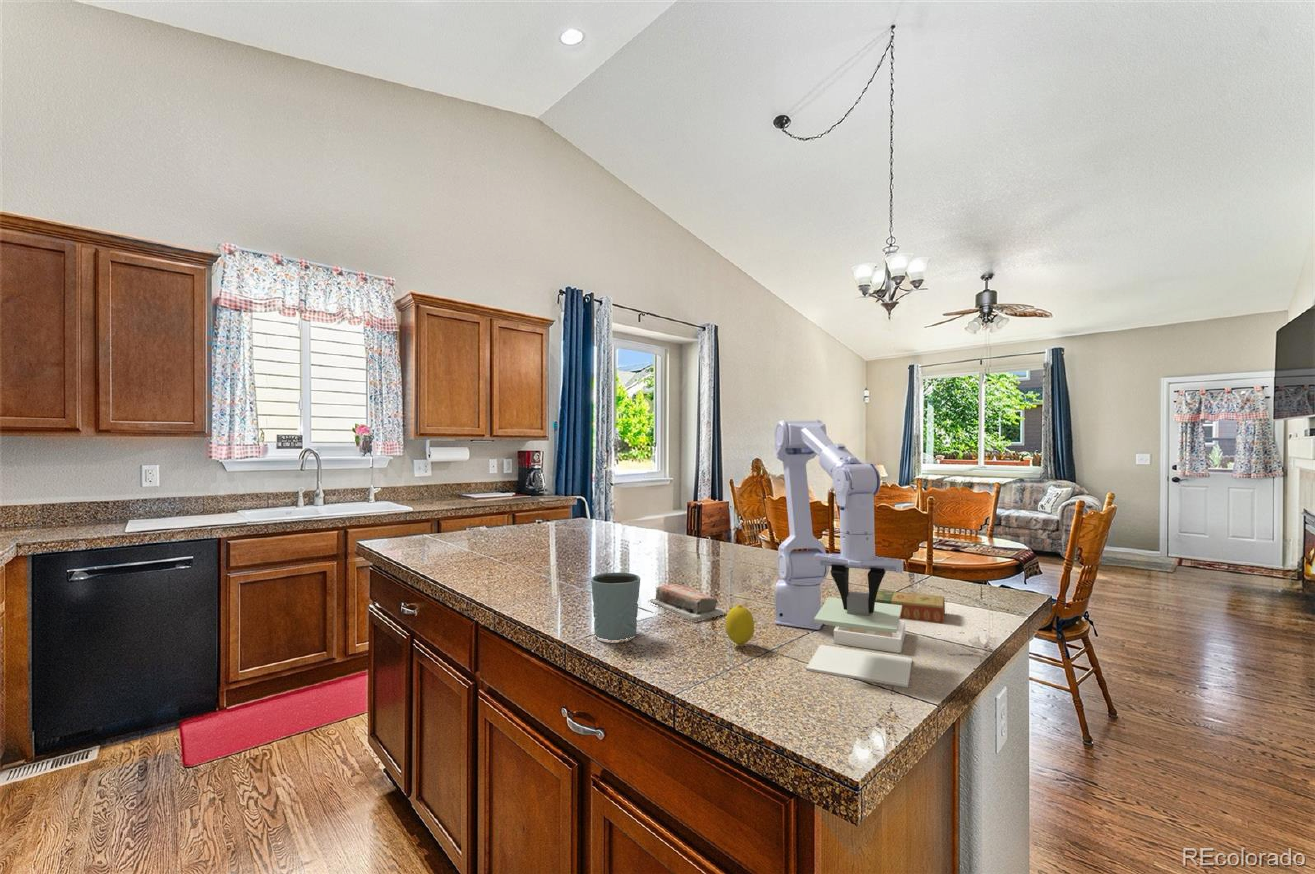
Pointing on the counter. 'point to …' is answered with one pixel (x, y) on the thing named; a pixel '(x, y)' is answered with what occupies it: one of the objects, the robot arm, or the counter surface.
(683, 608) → the packaged product
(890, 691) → the counter surface
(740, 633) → the lemon
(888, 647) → the box
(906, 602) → the carton
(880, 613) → the lid
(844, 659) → the mat
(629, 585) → the grey-green cup
